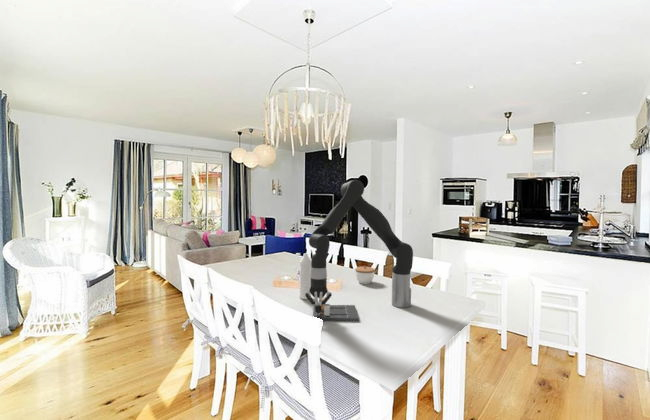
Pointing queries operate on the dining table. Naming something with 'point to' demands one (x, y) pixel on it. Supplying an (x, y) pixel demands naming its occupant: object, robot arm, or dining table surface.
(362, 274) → the lidded bowl
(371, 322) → the dining table surface
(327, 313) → the white banded fader cap
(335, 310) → the console
